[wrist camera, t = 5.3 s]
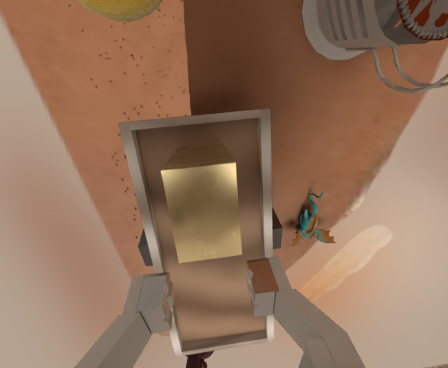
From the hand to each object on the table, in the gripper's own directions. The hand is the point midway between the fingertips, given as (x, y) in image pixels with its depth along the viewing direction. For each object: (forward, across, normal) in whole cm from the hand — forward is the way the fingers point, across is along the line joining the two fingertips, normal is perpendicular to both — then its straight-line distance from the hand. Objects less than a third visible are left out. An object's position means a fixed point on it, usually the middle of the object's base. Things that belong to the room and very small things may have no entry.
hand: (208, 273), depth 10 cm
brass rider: (+10, 0, +1) cm, 10 cm away
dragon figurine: (+18, -15, +9) cm, 25 cm away
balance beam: (+10, 0, +9) cm, 13 cm away
